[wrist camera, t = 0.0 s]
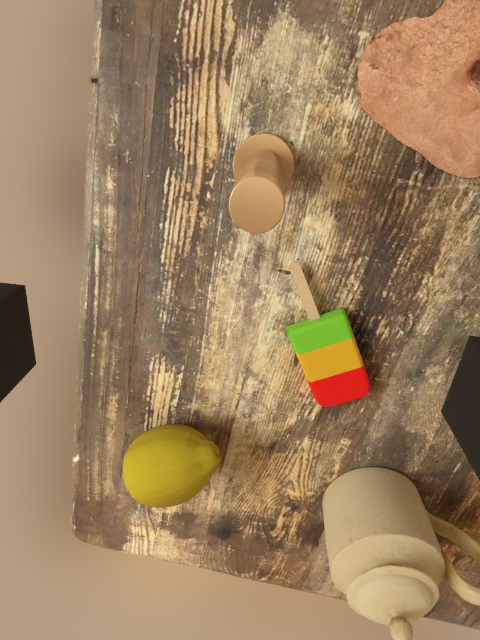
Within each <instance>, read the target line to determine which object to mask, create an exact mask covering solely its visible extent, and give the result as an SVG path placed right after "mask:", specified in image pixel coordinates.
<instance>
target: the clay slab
mask: <svg viewBox="0 0 480 640" xmlns="http://www.w3.org/2000/svg"><path fill="white" fill-rule="evenodd" d="M357 76H358V80H359V82H358V90H359V91H360V93H361V105H360V109H362V108H363V109H364V111H365V112H366V113H367V114H368V115H369V116H371V118H372V119H373V121H374V122H377V123H379V124H380V125H381V126H382V127H383V128H384V129H386V130H387V131H389V132H390V133H391V135H393V136H394V137H395V138H396V139H397V140H399V141H401V143H402V144H404V145H406V146H409V147H412V149H414V150H416V151H418V152H419V153H421V154H422V155H423V156H424V157H425V158H426V159H427V160H429V162H430V163H431V164H433V165H434V166H435V167H438V168H439V169H441V170H443V171H445V172H448V173H450V174H452V175H457V176H459V177H466V178H474V177H478V176H480V0H445V1H444V3H443V4H442V6H441V7H440V8H439V9H438V10H437V11H436V12H435V13H434V14H433V15H432V16H429V17H425V18H419V17H411V18H409V19H407V20H404V21H400V22H397V23H393V24H391V25H390V26H388V27H387V28H385V29H383V30H382V31H380V32H379V33H378V34H377V35H376V36H374V37H373V40H372V42H370V43H369V44H367V46H366V48H365V50H364V53H363V57H362V61H361V62H360V63H359V66H358V74H357Z"/></svg>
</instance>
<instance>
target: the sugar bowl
mask: <svg viewBox="0 0 480 640" xmlns="http://www.w3.org/2000/svg"><path fill="white" fill-rule="evenodd" d="M322 504H323V515H324V526H325V538H326V546H327V553H328V560H329V567H330V573H331V577H332V580H333V582H334V584H335V585H336V586H337V588H338V589H339V590H340V591H341V592H343V593H344V594H345V595H347V600H348V603H349V606H350V607H351V608H352V610H354V611H355V612H357V613H358V614H360V615H362V616H364V617H366V618H369V619H371V620H373V621H375V622H377V623H380V624H385V625H390V626H389V629H390V634H391V636H392V638H393V639H394V640H412V637H413V630H412V626H411V624H410V623H412V622H414V621H416V620H418V619H420V618H422V617H423V616H424V615H425V614H426V613H427V612H428V611H430V610H431V609H432V608H433V606H434V605H435V603H436V602H437V601H438V599H439V589H438V585H439V583H440V582H441V580H442V579H443V577H445V579H446V580H447V581H448V583H449V584H450V586H451V587H452V588H453V589H454V591H455V592H456V593H457V594H458V595H459V596H461V597H462V598H463V599H464V600H466V601H468V602H469V603H472V604H475V605H480V588H477V587H475V586H473V585H471V584H469V583H468V582H467V581H465V580H464V579H463V578H462V576H461V575H460V574H459V573H458V571H457V570H456V568H455V567H454V566H453V564H452V563H451V561H450V560H449V558H448V557H447V555H446V554H445V552H444V551H443V549H442V548H441V546H440V544H439V543H438V541H437V538H436V535H435V533H438V534H439V535H441V536H444V537H446V538H448V539H449V540H451V541H452V542H454V543H455V544H457V545H458V546H459V547H461V548H462V549H463V550H465V551H466V552H467V553H469V554H470V555H471V557H472V558H473V559H474V560H475V561H476V562H477V564H478V565H479V567H480V545H479V544H478V543H477V542H476V541H475V540H474V539H473V538H471V537H470V536H469V535H468V534H466V533H465V532H463V531H462V530H460V529H458V528H457V527H455V526H454V525H452V524H450V523H448V522H446V521H444V520H441V519H439V518H437V517H435V516H433V515H432V514H430V513H429V512H428V511H427V510H425V507H424V505H423V503H422V500H421V498H420V495H419V493H418V491H417V488H416V487H415V485H414V484H413V483H412V482H411V481H410V480H409V479H408V478H407V477H406V476H404V475H402V474H400V473H398V472H396V471H394V470H391V469H387V468H381V467H365V468H359V469H355V470H352V471H349V472H346V473H344V474H342V475H341V476H339V477H338V478H336V479H335V480H334V481H333V482H331V484H330V485H329V486H328V488H327V489H326V491H325V493H324V496H323V503H322Z"/></svg>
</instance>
